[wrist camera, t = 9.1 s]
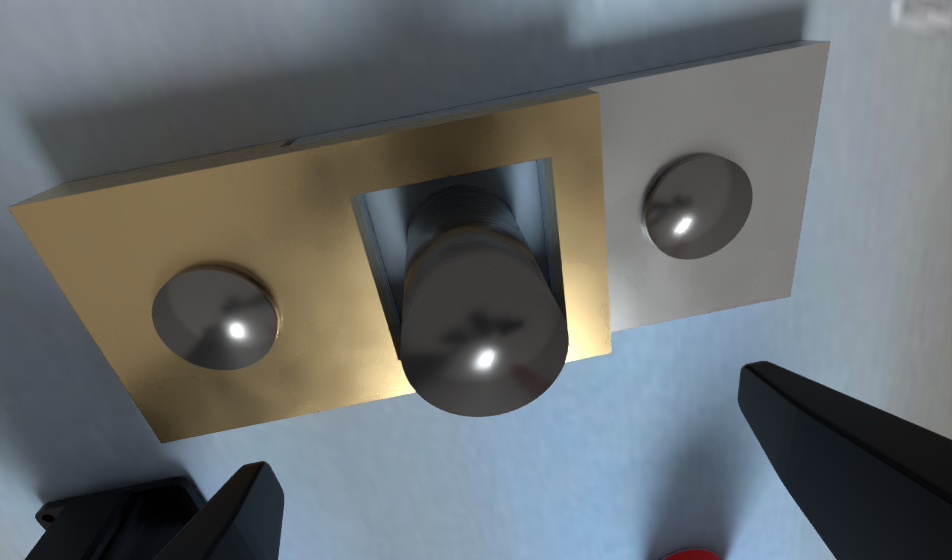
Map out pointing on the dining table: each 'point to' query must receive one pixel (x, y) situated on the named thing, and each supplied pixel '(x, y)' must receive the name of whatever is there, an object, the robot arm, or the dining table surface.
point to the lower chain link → (690, 180)
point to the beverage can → (692, 555)
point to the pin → (476, 308)
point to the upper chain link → (296, 260)
